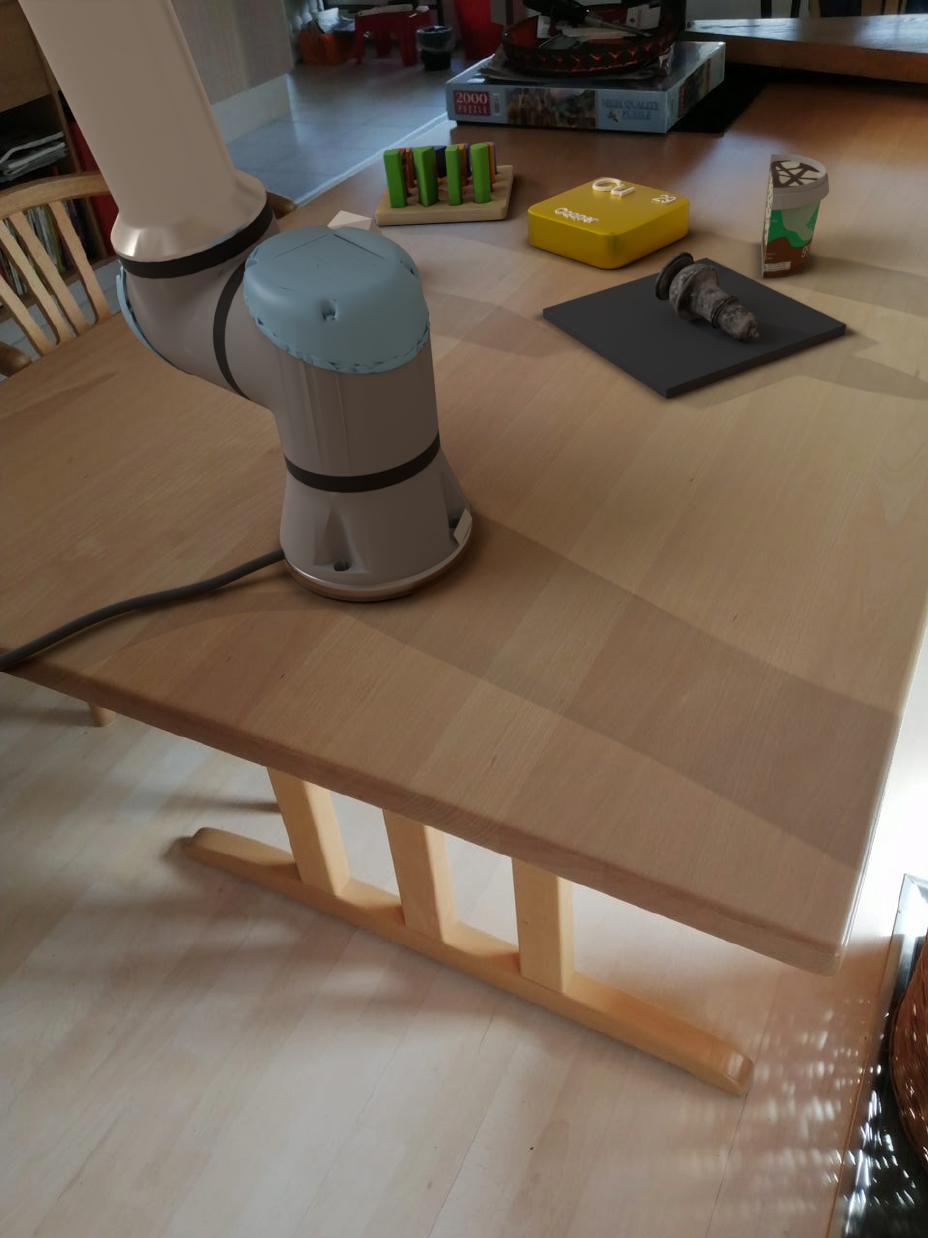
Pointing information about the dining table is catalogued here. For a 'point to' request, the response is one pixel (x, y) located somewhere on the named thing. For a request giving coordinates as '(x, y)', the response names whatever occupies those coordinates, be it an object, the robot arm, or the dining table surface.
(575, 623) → the dining table surface
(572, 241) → the element tile
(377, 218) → the peg board
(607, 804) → the dining table surface
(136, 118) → the robot arm
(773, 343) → the mat
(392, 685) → the dining table surface
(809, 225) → the food container
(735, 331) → the salt shaker
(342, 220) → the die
